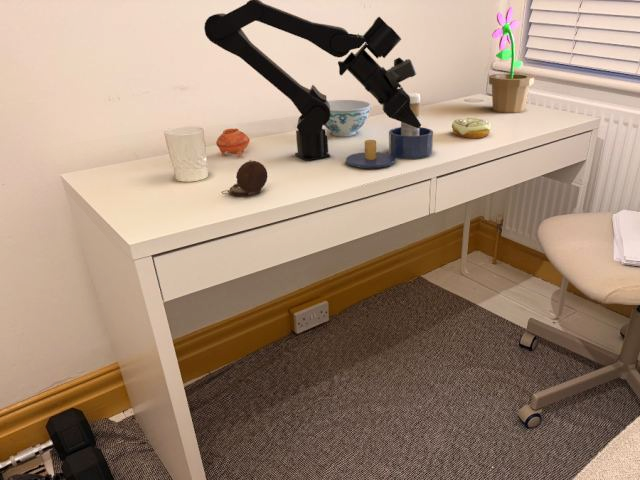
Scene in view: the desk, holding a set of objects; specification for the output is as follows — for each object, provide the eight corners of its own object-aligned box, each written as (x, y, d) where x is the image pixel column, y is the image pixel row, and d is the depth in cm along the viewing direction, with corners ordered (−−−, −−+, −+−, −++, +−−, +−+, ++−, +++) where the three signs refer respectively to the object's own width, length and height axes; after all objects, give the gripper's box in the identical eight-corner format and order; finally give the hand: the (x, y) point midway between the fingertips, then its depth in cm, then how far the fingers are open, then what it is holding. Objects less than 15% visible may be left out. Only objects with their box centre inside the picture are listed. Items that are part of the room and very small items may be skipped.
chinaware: (331, 142, 145) (330, 112, 141) (308, 131, 156) (306, 103, 153) (381, 135, 152) (380, 106, 148) (355, 125, 163) (354, 98, 159)
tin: (405, 161, 129) (405, 138, 127) (381, 152, 137) (380, 130, 134) (440, 154, 134) (441, 132, 132) (415, 145, 142) (415, 124, 139)
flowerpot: (505, 103, 191) (514, 6, 177) (539, 109, 181) (552, 7, 167) (477, 109, 183) (484, 7, 169) (511, 116, 173) (522, 8, 159)
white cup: (172, 184, 115) (162, 136, 111) (173, 173, 122) (164, 127, 117) (211, 181, 117) (203, 133, 112) (210, 170, 124) (203, 125, 119)
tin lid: (362, 173, 121) (362, 150, 119) (337, 161, 130) (336, 139, 127) (405, 164, 127) (405, 142, 124) (378, 154, 135) (377, 132, 133)
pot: (259, 153, 135) (250, 127, 131) (231, 166, 132) (221, 140, 127) (244, 146, 140) (235, 120, 136) (217, 158, 137) (207, 133, 133)
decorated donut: (460, 140, 146) (461, 126, 145) (445, 131, 155) (446, 117, 154) (496, 137, 149) (498, 123, 147) (479, 128, 158) (480, 115, 156)
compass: (253, 185, 114) (248, 150, 111) (270, 195, 109) (266, 158, 105) (216, 193, 110) (210, 156, 107) (232, 204, 105) (227, 166, 101)
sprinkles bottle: (413, 148, 138) (414, 91, 131) (422, 152, 134) (423, 94, 128) (397, 150, 136) (397, 92, 130) (405, 154, 133) (406, 96, 126)
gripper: (399, 50, 115) (449, 104, 122) (390, 42, 132) (434, 90, 138) (363, 91, 119) (413, 141, 125) (358, 78, 135) (403, 123, 141)
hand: (417, 122), depth 132 cm, fingers open, 9 cm apart
